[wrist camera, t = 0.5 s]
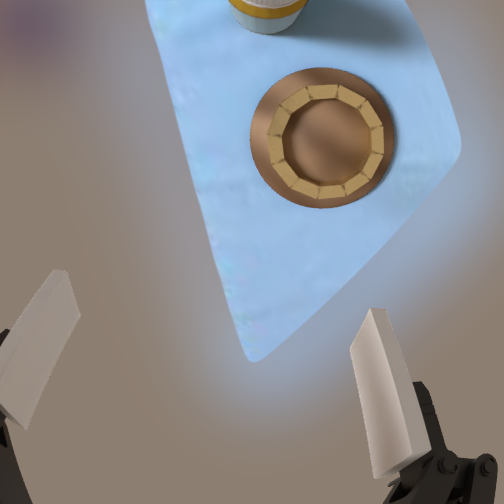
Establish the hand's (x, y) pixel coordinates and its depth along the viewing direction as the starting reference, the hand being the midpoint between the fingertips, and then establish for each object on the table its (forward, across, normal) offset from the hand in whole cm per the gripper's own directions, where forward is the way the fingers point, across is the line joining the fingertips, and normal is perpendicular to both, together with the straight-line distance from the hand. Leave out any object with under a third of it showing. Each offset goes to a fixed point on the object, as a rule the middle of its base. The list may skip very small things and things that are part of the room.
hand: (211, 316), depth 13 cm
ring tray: (+26, +9, +3) cm, 28 cm away
